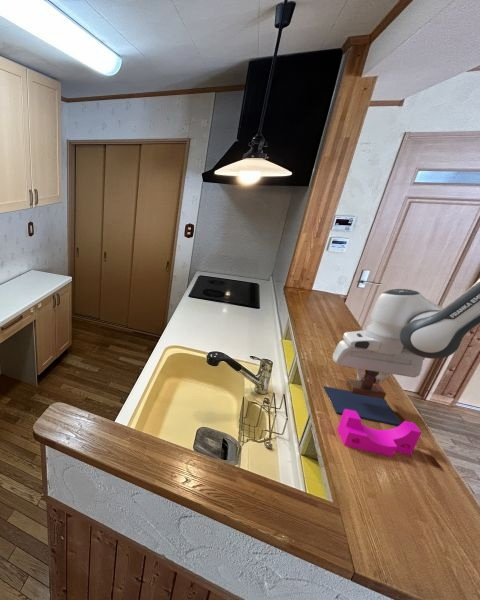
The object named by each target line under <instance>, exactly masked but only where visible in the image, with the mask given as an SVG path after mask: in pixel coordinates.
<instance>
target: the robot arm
mask: <svg viewBox="0 0 480 600" xmlns="http://www.w3.org/2000/svg"><path fill="white" fill-rule="evenodd" d="M479 325H480V277H479V278H478V279H477V280H476V282H475V283H474V284H473V285H472V286H471V287H469V288H468V289H467V290H466V291H464V292H463V293H462V294H461V295H459V296H458V297H457V298H455V299H454V300H452V301H451V302H450V303H448V304H447V305H446V306H445V307H443V306H440V305H438V304H436V303H434V302H433V301H430V300H429V299H427V298H426V297H425V296H423V295H422V294H421V292H419V291H417V290H412V289H408V288H394V289H393V288H392V289H387V290H385V291H383V292H382V293H380V295H379V296H378V298H377V299H376V301H375V304H374V306H373V308H372V311H371V314H370V322H369V324H368V325H367V326H366V328H365V329H363V330H362V329H361V330H356V331H347V332H346V331H345V332H344V333H343V335H342V338H343V339H342V340H341V341H339V342H338V343H337V345H336V346H335V349H334V351H333V353H332V360H333V362H334V363H335V365H337V366H338V367H339V366H340V367H347V368H353V369H355V371H356V373H357V375H356V380H357V381H362V382H364V381H365V379H366V377H365V376H364V375H365V373H364V372H365V370H370V371H376V372H379V374H378V375H377V376H376V378H375V381H374V384H379V385H381V384H382V382H383V381H385V380H386V379H387V378H389V377H390V376H391V375H397V376H400V377H401V376H403V377H407V378H408V377H409V378H417V377H419V376H420V375H421V372H422V368H423V363H424V360H425V359H431V360H433V359H434V360H436V359H438V360H439V359H443V358H447V357H450V356H451V355H453V354H455V353H456V352H457V351H458V349H459V348H460V346H461V343H462V341H463V339H464V337H465V336H466V335H467V334H468V333H469V332H470V331H471V330H473V328H475V327H477V326H479Z"/></svg>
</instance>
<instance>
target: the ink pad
mask: <svg viewBox="0 0 480 600" xmlns="http://www.w3.org/2000/svg"><path fill="white" fill-rule="evenodd" d="M323 387H324V388H323V390H324V389H325V390H324V392H325V391H326V392H325V394H326V393H327V394H326V395H328V396H327V397H329V398H330V400H331V402H332V403H331V402H330V403H331V405H332V404H333V405H332V407H333V410H334V412H335V413H336V414H337V415H342V414H343V411H344V409H348V410H353V411H356V412H357V413H358V415H359V417H360V419H361V420H367V421H372V422H377V423H382V424H387V425H391V426H395V427H398V426H399V425H401V424H402V423H403V422H401V420H400V419H399V417H398V416H397V415H396V414H395V412H394V410H393V409H392V408H391V407H390V406H389V404H388V403H387V401H386V400H385V398H384V399H381V398H376V397H370V396H365V395H359V394H354V393H351V391H350V390H347V389H341V388H336V387H330V386H325V385H324V386H323ZM329 398H328V399H329ZM330 400H329V401H330Z"/></svg>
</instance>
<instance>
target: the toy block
mask: <svg viewBox="0 0 480 600" xmlns="http://www.w3.org/2000/svg"><path fill="white" fill-rule="evenodd" d="M401 423H402V424H401V425H399V426H395V427H393V428H390V429H375V428H372V427H369V426H367V425H365V424H364V423H362V419H361V418H360V417H359V415H358V413H357V412H356V411H353V410H348V409H344V411H343V414H341V417H340V420H339V424H338V426H337V429H336V431H337V433H338V435H339V438H340V439H341V442H342V444H343V445H344V446H345V447H349V448H352V449H357V450H360V451H361V450H362V451H366V452H369V453H375V454H379V455H382V456H386V457H387V456H388V457H391V458H393V457H394V455H395V453H400V454H404V455H407V456H412V454H413V453H414V450H415V447H416V445H417V443H418V441H419V439H420V437H421V434H422V432H421V430H420V429H419V427H418V426H417V425H416V423H415V422H411V421H407V420H403V422H401Z"/></svg>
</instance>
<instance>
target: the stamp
mask: <svg viewBox="0 0 480 600" xmlns="http://www.w3.org/2000/svg"><path fill="white" fill-rule="evenodd" d="M378 375H380V372H376V371H370V370H364V376H365V377H366V379H365V381H364V382H362V381H358V380H357V379H350V378H348V379H347V381H346V386H347V388H348V390H349V391H351V393H354V394H359V395H365V396H370V397H376V398H381V399H384V400H385V397H386V395H387V392H386V391H385V390H384V389H383V387H382V386H381V384H374V381H375V378H376V377H377V376H378Z"/></svg>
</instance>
